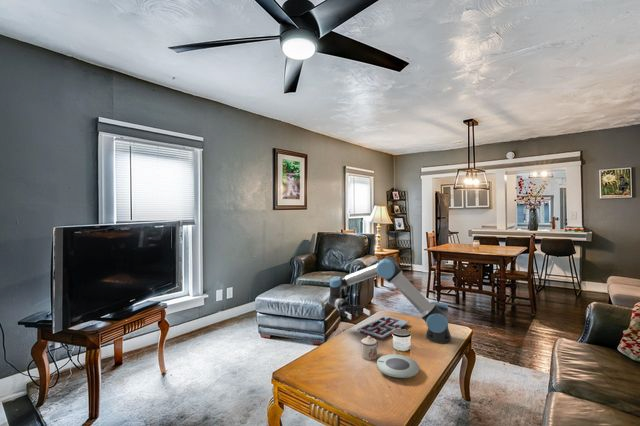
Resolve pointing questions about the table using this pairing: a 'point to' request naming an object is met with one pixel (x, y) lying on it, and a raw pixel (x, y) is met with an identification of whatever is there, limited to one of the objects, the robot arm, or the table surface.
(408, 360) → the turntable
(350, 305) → the robot arm
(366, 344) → the teacup with lid
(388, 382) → the table surface
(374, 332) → the maze game
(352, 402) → the table surface
